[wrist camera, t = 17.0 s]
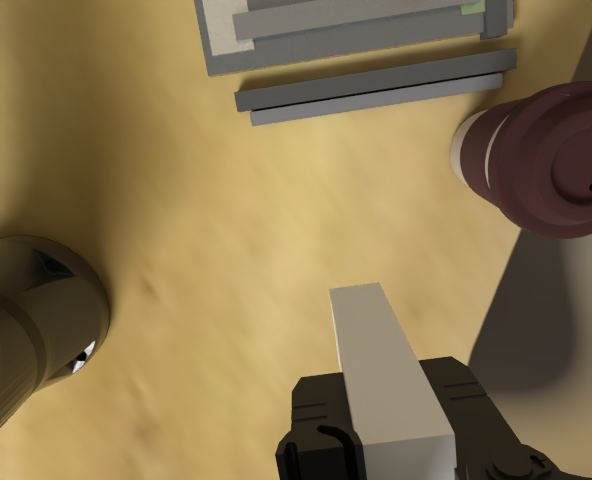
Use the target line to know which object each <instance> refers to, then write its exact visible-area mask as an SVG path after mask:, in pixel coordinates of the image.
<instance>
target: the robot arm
mask: <svg viewBox="0 0 592 480" xmlns="http://www.w3.org/2000/svg"><path fill="white" fill-rule="evenodd" d="M329 294H330V301H331V308H332V315H333V323H334V330H335V337H336V344H337V352H338V359H339V366H340V372H339V373H331V374H323V375H316V376H308V377H301V378H300V380H299V381H298V383H297V384H296V386H295V388H294V389H293V391H292V415H291V421H292V423H291V431H289V432H288V433H287V434H286V435H285V437H284V438H283V439H282V440H281V441H280V442H279V445H278V448H277V451H276V454H275V456H276V462H277V467H278V472H279V477H280V480H592V478H587V477H581V476H577V475H572V474H568V473H565V472H562V471H560V470H559V468H558V467H557V466H556V465H555V464H554V463H553V462H552V461H551V460H550V459H549V458H548V457H547V456H546V455H545V454H543V453H541V452H539V451H538V450H535V449H534V448H531V447H530V446H528V445H524V444H521V442H520V441H519V439H518V438H517V437H516V435H515V434H514V432H513V431H512V429H511V428H510V427H509V425H508V424H507V422H506V421H505V419H504V418H503V416H502V415H501V413H500V412H499V411H498V409H497V408H496V406H495V405H494V403H493V402H492V400H491V399H490V397H488V396H487V393H486V392H485V390H484V389H483V387H482V386H481V385H479V382H478V380H477V379H476V377H475V376H474V374H473V373H472V372H471V370H470V369H469V367H467V366H466V365H464V364H463V363H461V362H459V361H458V360H456V359H455V358H453V357H452V356H450V357H442V358H434V359H427V360H419V361H418V360H417V358H416V356H415V354H414V352H413V350H412V348H411V346H410V344H409V342H408V340H407V338H406V336H405V334H404V332H403V330H402V328H401V326H400V324H399V322H398V320H397V318H396V316H395V314H394V312H393V310H392V308H391V306H390V304H389V302H388V300H387V298H386V296H385V294H384V292H383V290H382V288H381V286H380V284H379V282H378V283H370V284H363V285H356V286H349V287H341V288H334V289H329ZM109 315H110V313H109V304H108V299H107V296H106V293H105V290H104V288H103V286H102V284H101V282H100V280H99V278H98V277H97V275H96V274H95V272H94V271H93V270H92V268H91V267H90V266H89V265H88V264H87V263H86V262H85V261H84V260H83V259H82V258H81V257H79V256H78V255H77V254H76V253H74V252H73V251H71V250H70V249H68V248H66V247H65V246H63V245H61V244H58V243H56V242H54V241H51V240H48V239H44V238H40V237H35V236H11V237H6V238H2V239H0V428H1V427H2V425H3V424H4V423H5V422H6V421H7V420H8V419H9V418H10V417H11V416H12V415H13V414H14V413H15V412H16V410H17V409H18V408H19V407H20V406H21V405H22V404H23V403H24V402H25V401H26V400H27V399H28V398H29V396H30V395H31V394H32V393H34V392H37V391H39V390H41V389H43V388H45V387H47V386H50V385H52V384H54V383H56V382H58V381H61V380H63V379H65V378H67V377H69V376H71V375H72V374H74V373H75V372H77V371H78V370H79V369H81V368H82V367H83V366H84V365H85V364H86V363H87V362H88V361H89V360H90V359H91V357H92V356H93V355H94V354H95V353H96V352H97V350H98V349H99V348H100V346H101V345H102V343H103V341H104V339H105V337H106V334H107V331H108V326H109Z"/></svg>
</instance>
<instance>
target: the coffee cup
mask: <svg viewBox="0 0 592 480" xmlns="http://www.w3.org/2000/svg"><path fill="white" fill-rule="evenodd" d="M450 161H451V165H452V168H453V170H454V172H455V174H456V175H457V177H458V178H459V179H460V180H461V181H462V182H463V183H464V184H466V185H467V186H469V187H470V188H471V189H472V190H473V191H474V192H475V193H476V194H478V195H479V196H481V197H482V198H484V199H485V200H487V201H489V202H490V203H492V204H493V205H495V206H497V207H498V208H499V209H500V210H501V212H502V213H503V214H504V215H505V216H506V217H507V218H508V219H509V220H510V221H511V222H513V223H514V224H516V225H517V226H519V227H521V228H523V229H525V230H527V231H529V232H531V233H533V234H536V235H538V236H542V237H546V238H551V239H572V238H579V237H583V236H586V235H589V234H592V82H591V81H582V82H573V83H566V84H560V85H556V86H552V87H549V88H547V89H544V90H541V91H540V92H538V93H536V94H534V95H532V96H531V97H528V98H524V99H520V100H516V101H511V102H507V103H503V104H500V105H497V106H495V107H493V108H491V109H488V110H484V111H480V112H478V113H476V114H474V115H472V116H471V117H469V118H468V119H467V120H466V121H465V122H464V123H463V124H462V125H461V126H460V127H459V128H458V130H457V131H456V133H455V135H454V137H453V140H452V143H451V147H450Z"/></svg>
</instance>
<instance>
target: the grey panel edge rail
mask: <svg viewBox="0 0 592 480" xmlns="http://www.w3.org/2000/svg"><path fill="white" fill-rule="evenodd" d="M485 25H486V32H483V33H481V34H480V40H485V39H491V38H498V37H501V36H503V35H506V34H507V0H486V12H485Z"/></svg>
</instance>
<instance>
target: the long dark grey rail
mask: <svg viewBox="0 0 592 480" xmlns="http://www.w3.org/2000/svg"><path fill="white" fill-rule="evenodd" d="M515 68H516V48H513V49H506V50H500V51H494V52H487V53H481V54H475V55H468V56H462V57H456V58H449V59H443V60H437V61H430V62H424V63H418V64H411V65H405V66H399V67H392V68H386V69H380V70H373V71H367V72H361V73H354V74H348V75H342V76H335V77H329V78H323V79H316V80H310V81H304V82H297V83H291V84H285V85H278V86H272V87H266V88H259V89H253V90H247V91H240V92H234V94H235V100H236V106H237V111H238V112H243V111H249V110H256V109H262V108H268V107H275V106H281V105H288V104H294V103H300V102H307V101H313V100H320V99H326V98H332V97H339V96H345V95H352V94H358V93H364V92H371V91H377V90H384V89H390V88H397V87H403V86H409V85H416V84H422V83H429V82H435V81H441V80H448V79H454V78H461V77H467V76H473V75H480V74H486V73H493V72H499V71H505V70H511V69H515ZM497 88H503V74H502V73H499V74H492V75H486V76H480V77H473V78H467V79H460V80H454V81H447V82H441V83H435V84H428V85H422V86H415V87H409V88H403V89H396V90H390V91H383V92H377V93H370V94H364V95H358V96H351V97H345V98H338V99H332V100H326V101H319V102H313V103H306V104H300V105H293V106H287V107H281V108H274V109H268V110H261V111H255V112H250V117H251V122H252V126H257V125H264V124H270V123H277V122H283V121H290V120H296V119H302V118H309V117H315V116H322V115H328V114H335V113H341V112H348V111H354V110H361V109H367V108H374V107H380V106H387V105H393V104H400V103H406V102H413V101H419V100H425V99H432V98H438V97H445V96H451V95H458V94H464V93H471V92H477V91H484V90H490V89H497Z"/></svg>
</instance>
